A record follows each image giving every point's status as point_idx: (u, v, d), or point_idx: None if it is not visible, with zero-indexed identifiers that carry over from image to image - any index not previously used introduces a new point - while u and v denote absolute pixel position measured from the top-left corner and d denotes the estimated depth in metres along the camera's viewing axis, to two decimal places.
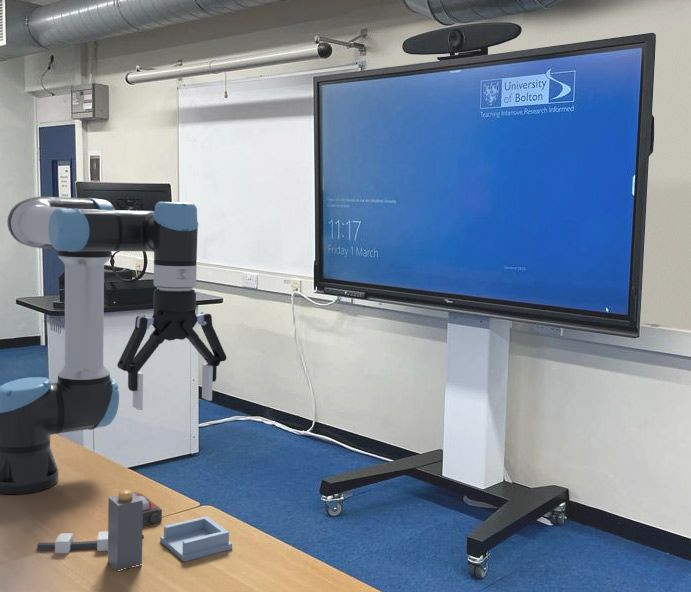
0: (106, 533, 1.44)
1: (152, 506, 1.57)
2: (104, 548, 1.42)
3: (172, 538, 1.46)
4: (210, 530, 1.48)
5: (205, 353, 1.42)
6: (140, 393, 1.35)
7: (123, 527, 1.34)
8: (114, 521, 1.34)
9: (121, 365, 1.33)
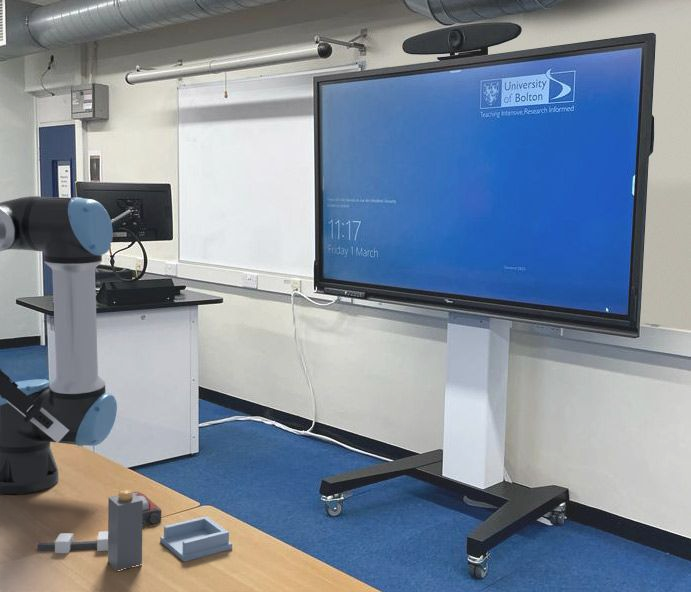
0: (106, 533, 1.44)
1: (152, 506, 1.57)
2: (104, 548, 1.42)
3: (172, 538, 1.46)
4: (210, 530, 1.48)
5: None
6: (21, 413, 1.37)
7: (123, 527, 1.34)
8: (114, 521, 1.34)
9: None
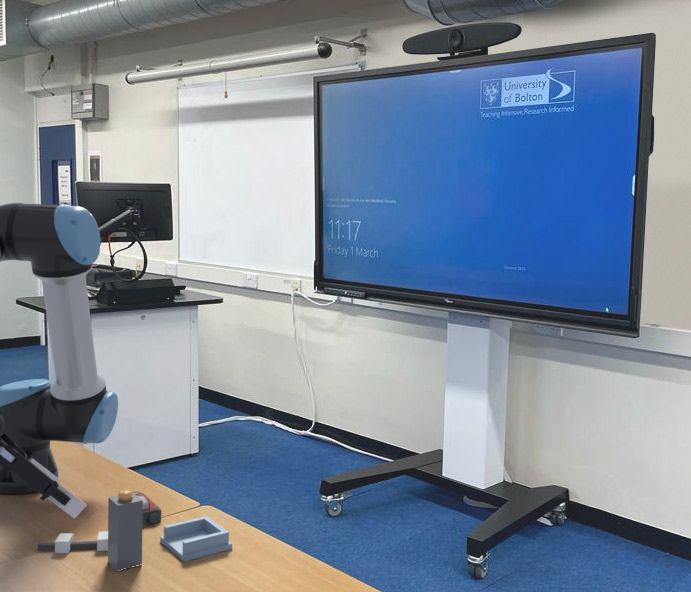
0: (106, 533, 1.44)
1: (152, 506, 1.57)
2: (104, 548, 1.42)
3: (172, 538, 1.46)
4: (210, 530, 1.48)
5: None
6: None
7: (123, 527, 1.34)
8: (114, 521, 1.34)
9: None
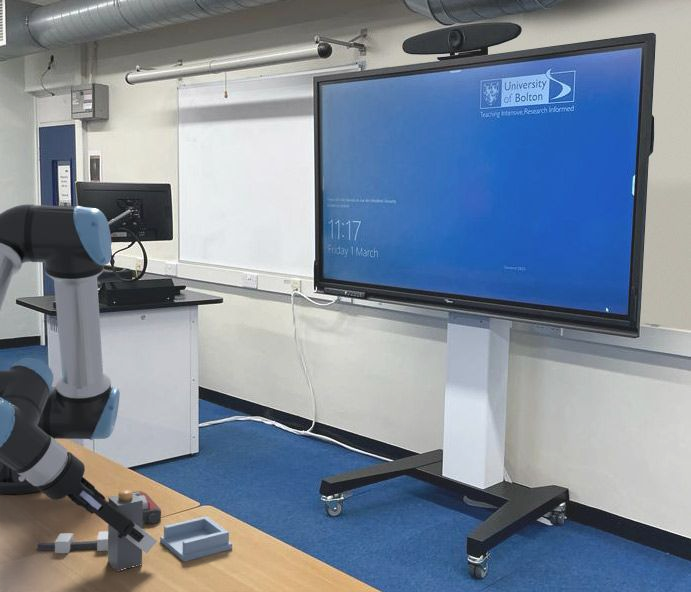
0: (106, 533, 1.44)
1: (152, 506, 1.57)
2: (104, 548, 1.42)
3: (172, 538, 1.46)
4: (210, 530, 1.48)
5: None
6: None
7: None
8: None
9: None
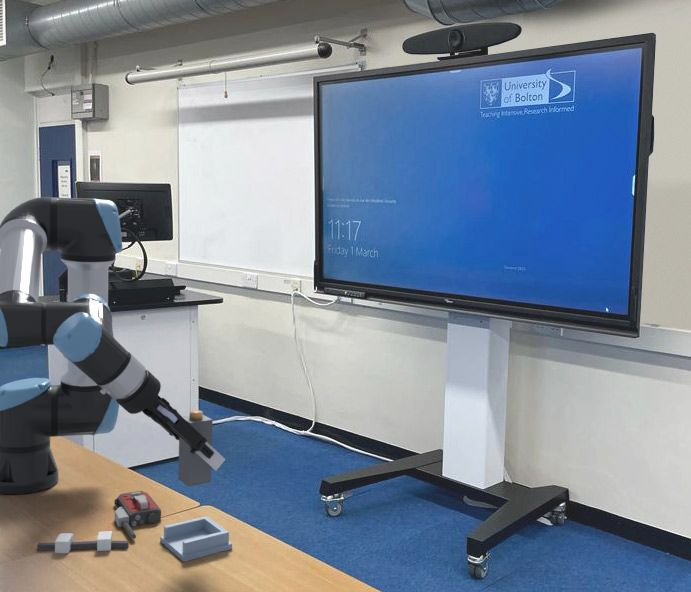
0: (106, 533, 1.44)
1: (152, 506, 1.57)
2: (104, 548, 1.42)
3: (172, 538, 1.46)
4: (210, 530, 1.48)
5: (182, 439, 1.38)
6: None
7: None
8: None
9: None
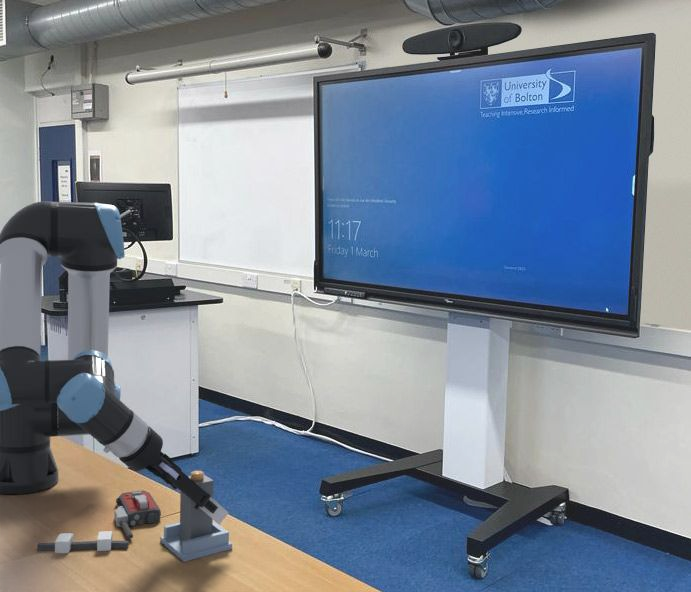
0: (106, 533, 1.44)
1: (151, 505, 1.57)
2: (104, 548, 1.42)
3: (172, 538, 1.46)
4: None
5: (185, 494, 1.39)
6: None
7: None
8: (187, 500, 1.43)
9: None
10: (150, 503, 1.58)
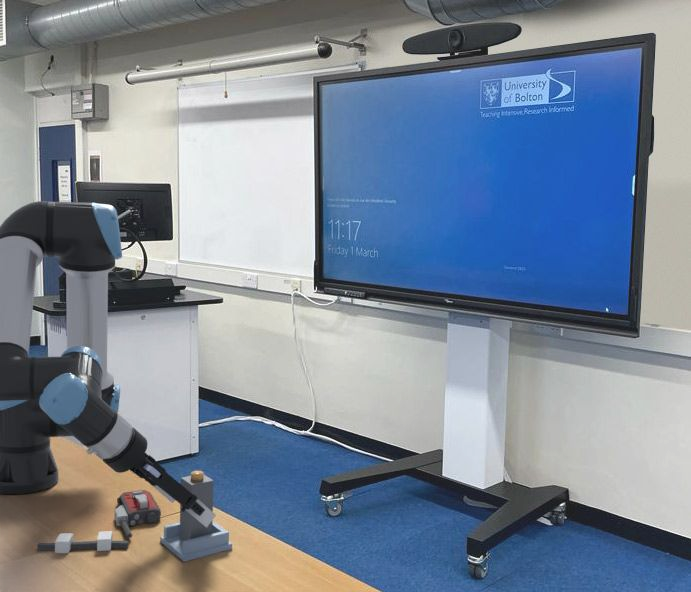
0: (106, 533, 1.44)
1: (152, 505, 1.57)
2: (104, 548, 1.42)
3: (172, 538, 1.46)
4: None
5: (171, 496, 1.35)
6: (162, 494, 1.48)
7: None
8: None
9: None
10: (150, 503, 1.58)
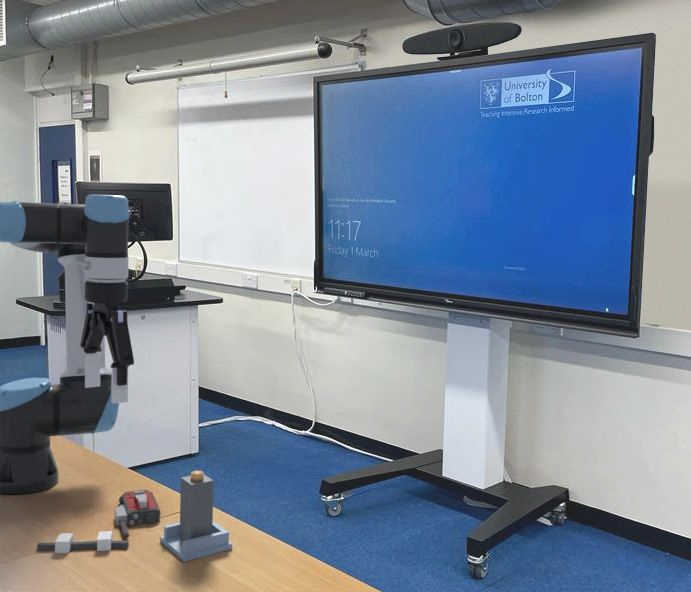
0: (106, 533, 1.44)
1: (151, 505, 1.57)
2: (104, 548, 1.42)
3: (172, 538, 1.46)
4: None
5: (111, 351, 1.35)
6: (85, 372, 1.46)
7: (196, 505, 1.42)
8: (187, 500, 1.43)
9: None
10: (150, 503, 1.58)
